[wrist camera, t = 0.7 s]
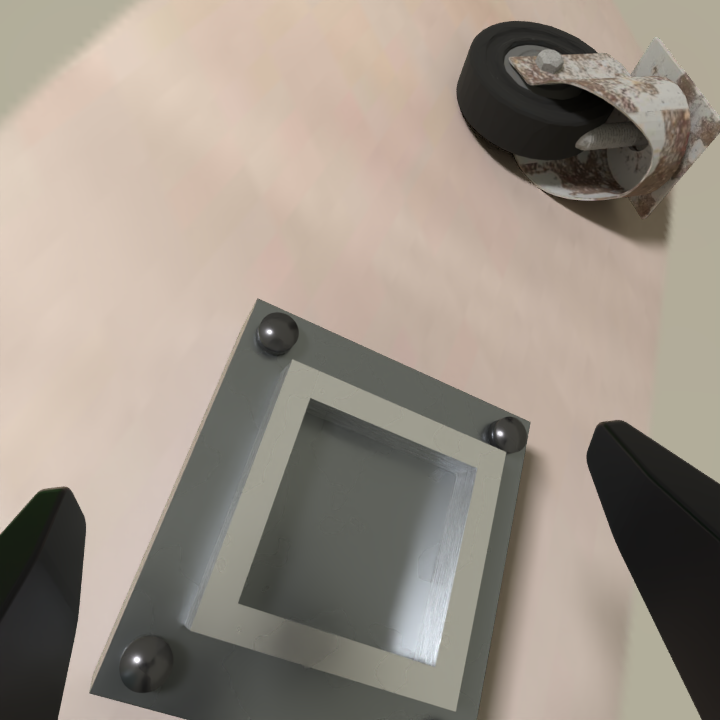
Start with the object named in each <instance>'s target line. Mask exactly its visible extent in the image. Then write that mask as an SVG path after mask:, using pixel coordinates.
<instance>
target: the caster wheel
mask: <svg viewBox="0 0 720 720" xmlns="http://www.w3.org/2000/svg"><path fill="white" fill-rule="evenodd" d="M457 100H458V103H459V106H460V109H461V111H462V113H463V115H464V117H465V118H466V120H467V121H468V122H469V123H470V125H471V126H472V127H473V128H474V129H475V130H476V131H477V132H478V133H479V134H480V135H481V136H483V137H484V138H486V139H487V140H488V141H490V142H491V143H493V144H494V145H496V146H498V147H500V148H502V149H503V150H506V151H508V152H511V153H513V154H514V157H515V160H516V162H517V164H518V166H519V167H520V169H521V170H522V171H523V172H524V174H525V175H526V176H527V177H528V178H529V179H530V180H531V181H532V182H533V183H534V184H535V185H536V186H537V187H538V188H540V189H541V190H543V191H545V192H547V193H550V194H552V195H555V196H558V197H562V198H567V199H574V200H589V201H595V200H607V199H615V198H623V197H628V198H629V199H630V201H631V203H632V204H633V206H634V207H635V209H636V211H637V212H638V214H639V215H640V217H641V219H644V218H647V217H648V216H649V214H650V213H651V212H652V211H653V210H654V209H655V207H656V206H657V205H658V204H659V203H660V202H661V200H662V199H663V198H664V197H665V196H666V195H667V193H668V192H669V191H670V190H671V189H672V188H673V186H674V185H675V184H676V183H677V182H678V181H679V180H680V178H681V177H682V176H683V175H684V173H685V172H686V171H687V170H688V169H689V168H690V167H691V165H692V164H693V163H694V162H695V161H696V160H697V158H698V157H699V156H700V155H701V154H702V153H703V152H704V150H705V149H706V148H707V147H708V146H709V145H710V143H711V142H712V141H713V140H714V139H715V138H716V136H717V135H718V134H719V133H720V116H719V115H718V114H717V112H716V111H715V110H714V108H713V107H712V106H711V104H710V103H709V102H708V101H707V99H706V98H705V97H704V95H703V94H702V93H701V91H700V90H699V89H698V88H697V86H696V85H695V84H694V83H693V81H692V80H691V78H690V77H689V76H688V75H687V73H686V72H685V71H684V69H683V68H682V67H681V66H680V64H679V63H678V62H677V60H676V59H675V58H674V56H673V55H672V54H671V53H670V51H669V50H668V49H667V47H666V46H665V45H664V43H663V42H662V41H661V40H660V38H656V37H654V38H653V40H652V42H651V43H650V45H649V46H648V48H647V50H646V51H645V53H644V54H643V56H642V57H641V59H640V61H639V62H638V64H637V65H636V67H635V69H634V70H633V72H632V73H631V75H630V74H629V73H628V71H627V70H626V69H625V67H624V66H623V65H622V64H621V63H620V62H618V61H617V60H615V59H614V58H613V57H611V56H610V55H609V54H607V53H597V52H596V51H595V50H594V49H593V48H591V47H590V46H589V45H587V44H586V43H584V42H583V41H581V40H580V39H579V38H577V37H575V36H573V35H571V34H568V33H566V32H564V31H562V30H559V29H557V28H554V27H552V26H548V25H543V24H539V23H533V22H525V21H509V22H502V23H498V24H495V25H492V26H490V27H488V28H486V29H484V30H483V31H482V32H480V33H479V34H478V35H477V36H476V37H475V39H474V40H473V42H472V44H471V46H470V49H469V52H468V55H467V58H466V60H465V63H464V66H463V69H462V72H461V75H460V77H459V80H458V84H457ZM636 147H637V148H636Z"/></svg>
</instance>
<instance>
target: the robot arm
mask: <svg viewBox="0 0 720 720" xmlns="http://www.w3.org/2000/svg"><path fill="white" fill-rule="evenodd" d="M587 464H588V468H589V471H590V473H591V476H592V479H593V482H594V484H595V487H596V490H597V493H598V496H599V498H600V501H601V504H602V507H603V510H604V512H605V515H606V518H607V521H608V523H609V526H610V529H611V532H612V534H613V537H614V539H615V542H616V544H617V546H618V548H619V551H620V553H621V555H622V557H623V559H624V561H625V563H626V565H627V567H628V569H629V571H630V573H631V575H632V577H633V579H634V582H635V584H636V586H637V588H638V590H639V592H640V594H641V596H642V598H643V600H644V602H645V604H646V606H647V608H648V610H649V612H650V614H651V616H652V618H653V621H654V622H655V625H656V627H657V629H658V631H659V633H660V635H661V637H662V639H663V641H664V643H665V645H666V647H667V649H668V651H669V653H670V655H671V657H672V660H673V662H674V664H675V666H676V668H677V670H678V672H679V674H680V676H681V678H682V680H683V682H684V684H685V686H686V688H687V690H688V692H689V694H690V696H691V699H692V701H693V702H694V705H695V707H696V708H697V711H698V713H699V715H700V717H701V719H702V720H720V484H719V483H718V482H716V481H715V480H713V479H712V478H710V477H708V476H707V475H705V474H704V473H702V472H701V471H699V470H698V469H696V468H695V467H693V466H692V465H690V464H689V463H687V462H686V461H684V460H683V459H681V458H680V457H678V456H677V455H675V454H673V453H672V452H670V451H669V450H667V449H666V448H664V447H663V446H661V445H660V444H658V443H657V442H655V441H654V440H652V439H651V438H649V437H648V436H646V435H645V434H643V433H642V432H640V431H639V430H637V429H636V428H634V427H633V426H631V425H629V424H628V423H626V422H624V421H622V420H614V421H605V422H601V423H599V424H598V425H597V426H596V428H595V431H594V434H593V437H592V440H591V442H590V445H589V448H588V451H587ZM85 536H86V522H85V517H84V515H83V513H82V511H81V509H80V507H79V505H78V503H77V501H76V499H75V497H74V495H73V493H72V491H71V490H70V489H69V488H68V487H55V488H47V489H43V490H41V491H39V492H38V493H37V494H36V495H35V496H34V497H33V498H32V499H31V500H30V501H29V503H28V504H27V505H26V506H25V507H24V508H23V509H22V510H21V512H20V513H19V514H18V515H17V516H16V517H15V518H14V519H13V521H12V522H11V523H10V524H9V525H8V526H7V527H6V528H5V530H4V531H3V532H2V533H1V534H0V720H58V715H59V711H60V706H61V701H62V696H63V691H64V686H65V682H66V677H67V672H68V667H69V662H70V658H71V653H72V648H73V643H74V638H75V633H76V627H77V622H78V614H79V605H80V593H81V582H82V570H83V559H84V547H85Z"/></svg>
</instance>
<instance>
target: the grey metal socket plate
mask: <svg viewBox="0 0 720 720" xmlns="http://www.w3.org/2000/svg"><path fill="white" fill-rule="evenodd" d="M529 428H530V422H529V421H527V420H525V419H522V418H520V417H518V416H516V415H514V414H511V413H509V412H507V411H505V410H503V409H500V408H498V407H496V406H494V405H492V404H489V403H487V402H485V401H483V400H481V399H478V398H476V397H474V396H472V395H470V394H467V393H465V392H463V391H461V390H459V389H456V388H454V387H452V386H450V385H448V384H445V383H443V382H441V381H439V380H437V379H434V378H432V377H430V376H428V375H425V374H423V373H421V372H419V371H417V370H414V369H412V368H410V367H408V366H406V365H403V364H401V363H399V362H397V361H395V360H392V359H390V358H388V357H386V356H384V355H381V354H379V353H377V352H375V351H373V350H370V349H368V348H366V347H364V346H362V345H359V344H357V343H355V342H353V341H351V340H348V339H346V338H344V337H342V336H340V335H337V334H335V333H333V332H331V331H328V330H326V329H324V328H322V327H320V326H317V325H315V324H313V323H311V322H309V321H306V320H304V319H302V318H300V317H298V316H295V315H293V314H291V313H289V312H287V311H284V310H282V309H280V308H278V307H276V306H273V305H271V304H269V303H267V302H265V301H262V300H260V299H257V301H256V303H255V304H254V306H253V308H252V310H251V312H250V314H249V316H248V317H247V319H246V321H245V323H244V325H243V327H242V329H241V331H240V334H239V336H238V338H237V341H236V343H235V345H234V348H233V350H232V352H231V355H230V357H229V359H228V362H227V364H226V366H225V369H224V371H223V373H222V376H221V378H220V380H219V382H218V385H217V387H216V389H215V392H214V394H213V396H212V399H211V401H210V403H209V406H208V408H207V410H206V413H205V415H204V417H203V420H202V422H201V424H200V427H199V429H198V431H197V434H196V436H195V438H194V441H193V443H192V445H191V448H190V450H189V452H188V455H187V457H186V459H185V462H184V464H183V466H182V469H181V471H180V473H179V476H178V478H177V480H176V483H175V485H174V487H173V490H172V492H171V494H170V497H169V499H168V501H167V504H166V506H165V508H164V511H163V513H162V515H161V518H160V520H159V522H158V525H157V527H156V529H155V532H154V534H153V536H152V539H151V541H150V543H149V546H148V548H147V550H146V552H145V555H144V557H143V559H142V562H141V564H140V566H139V569H138V571H137V573H136V576H135V578H134V580H133V583H132V585H131V587H130V590H129V592H128V594H127V597H126V599H125V601H124V604H123V606H122V608H121V611H120V613H119V615H118V618H117V620H116V622H115V625H114V627H113V629H112V632H111V634H110V636H109V639H108V641H107V643H106V646H105V648H104V650H103V653H102V655H101V657H100V660H99V662H98V664H97V667H96V669H95V671H94V674H93V678H92V682H91V687H90V692H89V693H90V694H94V695H98V696H101V697H105V698H109V699H113V700H116V701H120V702H124V703H127V704H131V705H135V706H139V707H142V708H146V709H150V710H153V711H157V712H161V713H165V714H168V715H172V716H176V717H180V718H183V719H187V720H477V716H478V710H479V705H480V699H481V694H482V688H483V683H484V677H485V672H486V666H487V661H488V655H489V649H490V644H491V638H492V633H493V627H494V622H495V616H496V611H497V605H498V600H499V594H500V588H501V583H502V577H503V572H504V566H505V561H506V555H507V550H508V544H509V539H510V533H511V527H512V522H513V516H514V511H515V505H516V500H517V494H518V489H519V483H520V478H521V472H522V466H523V461H524V455H525V450H526V444H527V439H528V433H529Z"/></svg>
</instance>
